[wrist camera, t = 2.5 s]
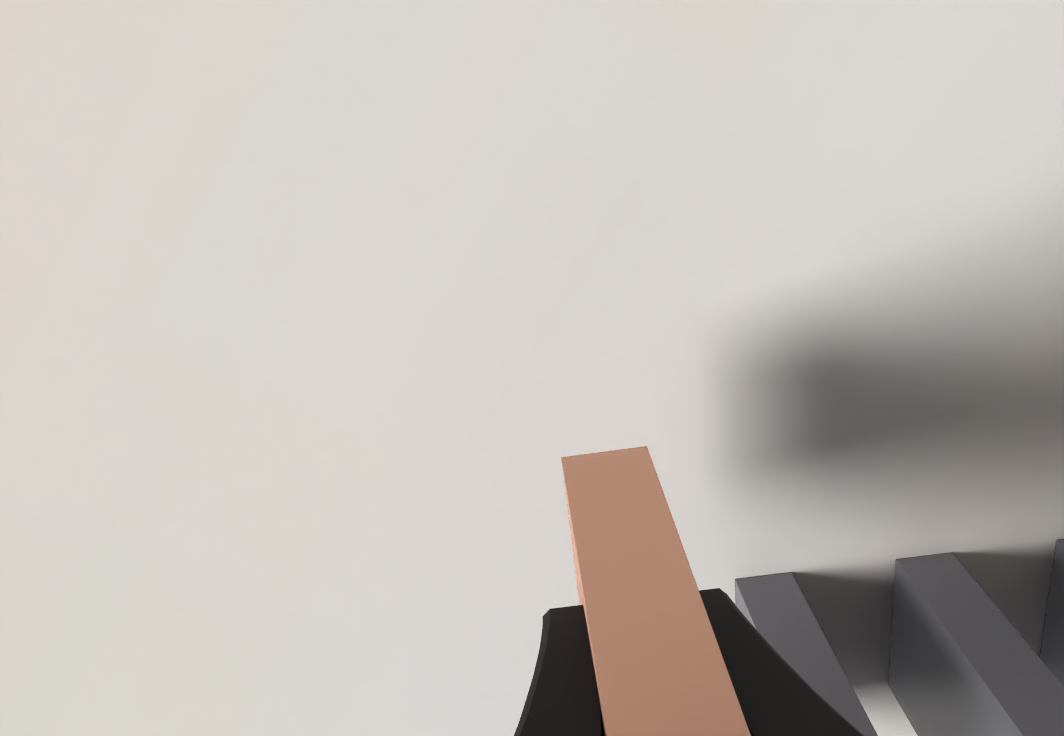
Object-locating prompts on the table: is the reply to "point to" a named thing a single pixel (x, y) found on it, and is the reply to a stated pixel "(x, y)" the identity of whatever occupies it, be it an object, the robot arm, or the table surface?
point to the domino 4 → (1055, 618)
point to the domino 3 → (964, 658)
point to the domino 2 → (799, 641)
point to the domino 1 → (643, 605)
